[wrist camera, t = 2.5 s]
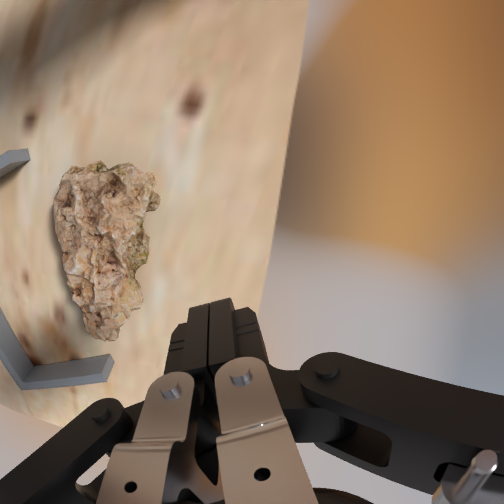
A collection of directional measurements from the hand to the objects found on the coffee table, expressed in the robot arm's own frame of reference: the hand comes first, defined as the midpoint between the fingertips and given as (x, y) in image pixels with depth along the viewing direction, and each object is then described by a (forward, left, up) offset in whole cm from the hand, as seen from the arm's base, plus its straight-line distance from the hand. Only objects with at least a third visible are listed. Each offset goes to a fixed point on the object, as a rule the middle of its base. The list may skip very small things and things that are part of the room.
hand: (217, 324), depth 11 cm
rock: (+10, 0, -18) cm, 20 cm away
